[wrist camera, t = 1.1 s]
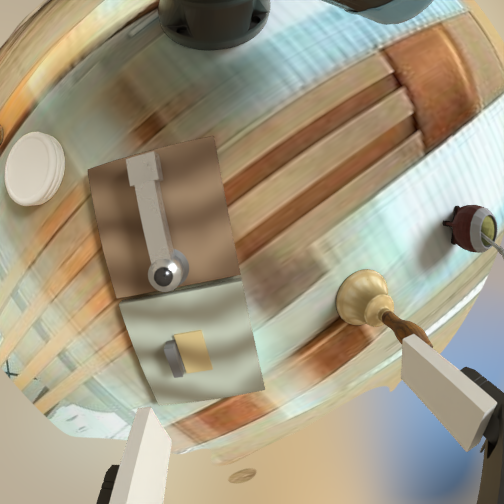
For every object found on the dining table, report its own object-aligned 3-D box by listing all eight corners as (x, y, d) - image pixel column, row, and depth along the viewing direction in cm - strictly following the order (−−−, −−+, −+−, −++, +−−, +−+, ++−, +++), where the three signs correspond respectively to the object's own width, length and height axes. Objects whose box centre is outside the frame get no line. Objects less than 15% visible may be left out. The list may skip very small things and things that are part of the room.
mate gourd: (468, 207, 37) (536, 215, 23) (463, 252, 39) (528, 272, 24) (441, 199, 37) (514, 206, 22) (435, 249, 38) (506, 272, 23)
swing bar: (187, 280, 33) (183, 290, 29) (158, 286, 32) (151, 296, 29) (161, 154, 30) (153, 149, 26) (131, 162, 30) (121, 158, 26)
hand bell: (347, 334, 39) (403, 398, 23) (327, 288, 37) (388, 343, 21) (392, 305, 39) (461, 352, 23) (376, 258, 37) (454, 292, 21)
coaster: (8, 185, 30) (-6, 185, 26) (36, 124, 29) (23, 120, 25) (47, 217, 32) (33, 220, 28) (78, 153, 31) (66, 149, 27)
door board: (92, 170, 31) (79, 168, 27) (213, 138, 32) (212, 131, 28) (160, 399, 38) (156, 415, 34) (263, 383, 39) (267, 399, 35)
